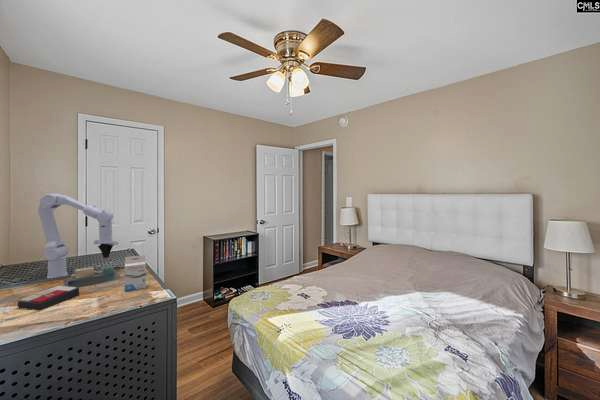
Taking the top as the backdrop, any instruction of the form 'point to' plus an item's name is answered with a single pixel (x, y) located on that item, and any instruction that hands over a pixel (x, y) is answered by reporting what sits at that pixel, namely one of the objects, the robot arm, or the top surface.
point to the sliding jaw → (105, 271)
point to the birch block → (84, 272)
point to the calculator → (48, 297)
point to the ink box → (135, 273)
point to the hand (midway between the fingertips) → (106, 257)
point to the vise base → (91, 280)
